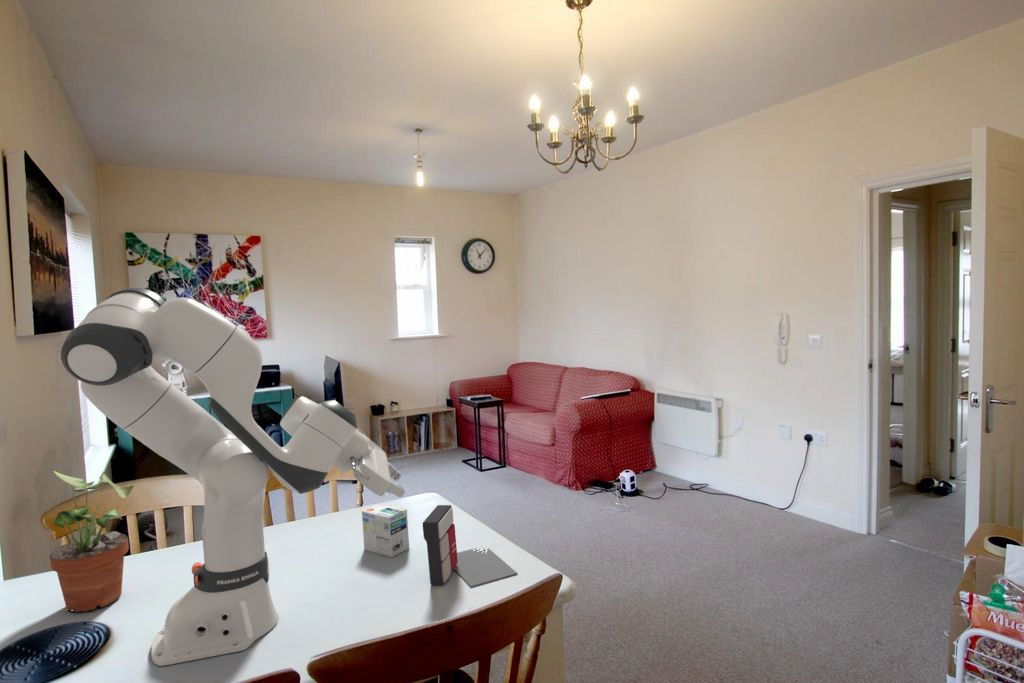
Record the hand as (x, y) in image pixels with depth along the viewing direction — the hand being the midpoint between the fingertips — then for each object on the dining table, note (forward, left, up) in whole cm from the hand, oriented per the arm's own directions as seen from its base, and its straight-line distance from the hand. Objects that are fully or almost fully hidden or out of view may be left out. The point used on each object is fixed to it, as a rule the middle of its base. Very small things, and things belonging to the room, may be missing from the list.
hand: (401, 485), depth 128 cm
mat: (+19, +2, -24) cm, 31 cm away
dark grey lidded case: (+10, +2, -24) cm, 26 cm away
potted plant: (-62, +32, -24) cm, 74 cm away
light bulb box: (+2, +24, -24) cm, 34 cm away
